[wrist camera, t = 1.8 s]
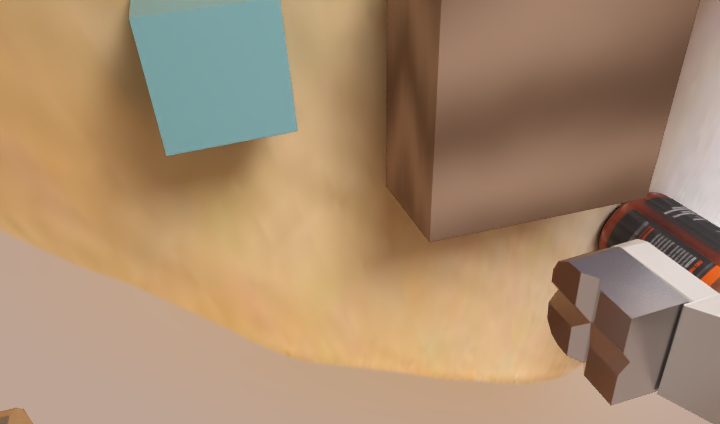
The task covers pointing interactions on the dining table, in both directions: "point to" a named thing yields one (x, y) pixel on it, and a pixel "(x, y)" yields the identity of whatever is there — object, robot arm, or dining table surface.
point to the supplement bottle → (668, 234)
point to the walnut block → (526, 106)
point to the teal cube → (214, 70)
